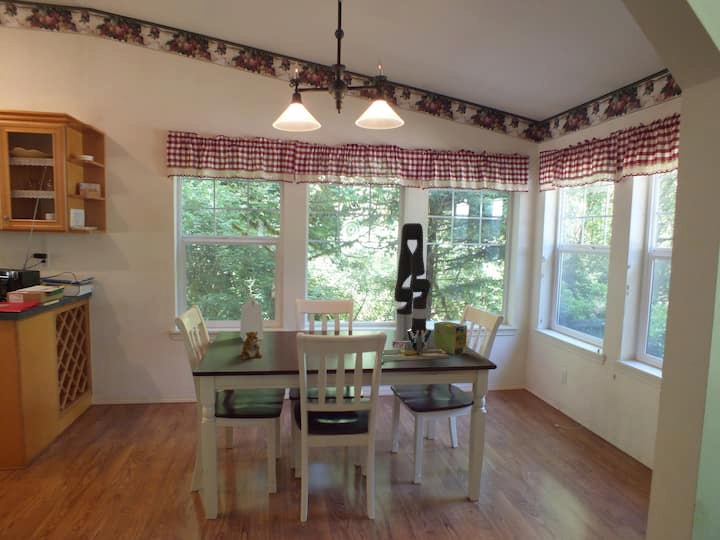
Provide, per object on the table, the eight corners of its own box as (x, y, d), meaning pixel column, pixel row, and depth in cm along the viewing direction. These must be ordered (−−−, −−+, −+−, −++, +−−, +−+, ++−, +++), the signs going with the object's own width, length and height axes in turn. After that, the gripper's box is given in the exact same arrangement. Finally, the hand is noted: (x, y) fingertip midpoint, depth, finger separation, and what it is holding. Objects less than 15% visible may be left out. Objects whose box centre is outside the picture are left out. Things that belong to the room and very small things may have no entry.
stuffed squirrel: (243, 360, 222) (243, 334, 221) (237, 353, 235) (237, 329, 234) (263, 358, 227) (263, 333, 226) (256, 351, 239) (256, 327, 238)
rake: (413, 353, 237) (414, 333, 236) (418, 353, 237) (419, 333, 236) (417, 356, 231) (417, 336, 230) (422, 356, 232) (423, 335, 231)
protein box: (454, 356, 238) (455, 327, 237) (432, 350, 250) (433, 322, 249) (466, 353, 245) (467, 325, 244) (444, 347, 257) (445, 320, 255)
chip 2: (406, 355, 235) (406, 349, 235) (413, 354, 236) (414, 349, 236) (409, 357, 231) (409, 351, 231) (416, 356, 232) (416, 351, 232)
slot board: (396, 354, 238) (396, 349, 238) (438, 352, 244) (438, 347, 244) (404, 361, 226) (404, 356, 226) (448, 359, 231) (448, 354, 231)
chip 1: (399, 355, 234) (399, 349, 234) (406, 355, 235) (407, 349, 235) (402, 357, 230) (402, 351, 230) (409, 357, 231) (409, 351, 231)
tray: (374, 356, 235) (374, 349, 235) (397, 355, 238) (397, 348, 238) (380, 362, 223) (380, 356, 223) (404, 361, 226) (404, 354, 226)
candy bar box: (427, 340, 244) (405, 342, 235) (428, 349, 244) (406, 351, 234) (413, 339, 253) (392, 341, 244) (414, 348, 253) (392, 350, 243)
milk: (240, 337, 270) (239, 294, 268) (259, 335, 275) (259, 294, 273) (243, 341, 260) (243, 297, 257) (263, 340, 264) (263, 296, 262)
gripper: (428, 314, 238) (427, 346, 239) (403, 315, 234) (403, 347, 236) (434, 317, 230) (433, 350, 232) (408, 318, 227) (407, 351, 229)
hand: (418, 348), depth 234 cm, fingers closed on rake, 3 cm apart
